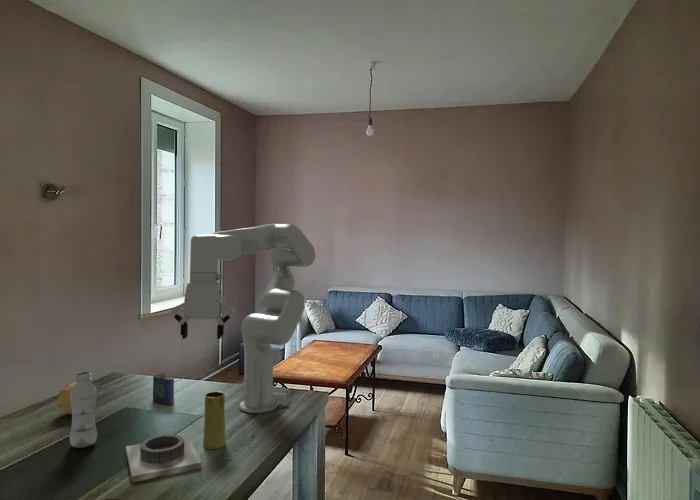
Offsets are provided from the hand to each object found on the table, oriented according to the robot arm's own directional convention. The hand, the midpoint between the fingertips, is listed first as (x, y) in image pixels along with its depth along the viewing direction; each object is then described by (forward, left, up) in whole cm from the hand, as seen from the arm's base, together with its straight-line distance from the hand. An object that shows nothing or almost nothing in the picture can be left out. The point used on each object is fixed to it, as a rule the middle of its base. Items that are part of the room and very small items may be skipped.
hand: (202, 338), depth 143 cm
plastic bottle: (+30, -8, -29) cm, 42 cm away
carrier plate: (+12, +10, -29) cm, 33 cm away
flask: (+6, -34, -29) cm, 45 cm away
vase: (-2, +7, -29) cm, 30 cm away
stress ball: (+32, -35, -29) cm, 55 cm away
